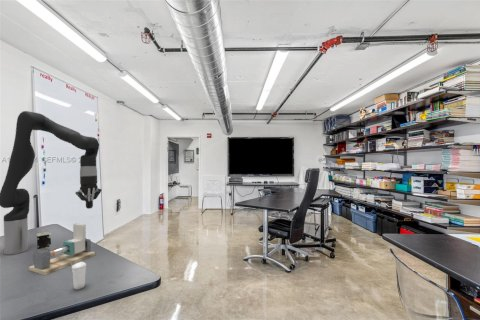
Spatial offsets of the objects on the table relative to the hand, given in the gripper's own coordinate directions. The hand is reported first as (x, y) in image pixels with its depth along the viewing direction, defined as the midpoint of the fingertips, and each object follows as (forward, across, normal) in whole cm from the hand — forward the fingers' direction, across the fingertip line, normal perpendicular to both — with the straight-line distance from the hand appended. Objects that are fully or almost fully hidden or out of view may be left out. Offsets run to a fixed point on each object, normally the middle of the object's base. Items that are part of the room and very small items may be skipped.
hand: (89, 208), depth 122 cm
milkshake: (+23, +24, +29) cm, 45 cm away
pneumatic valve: (+23, +10, -20) cm, 32 cm away
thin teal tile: (+20, +10, 0) cm, 23 cm away
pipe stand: (+23, +12, 0) cm, 26 cm away
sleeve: (+20, +7, 0) cm, 21 cm away
